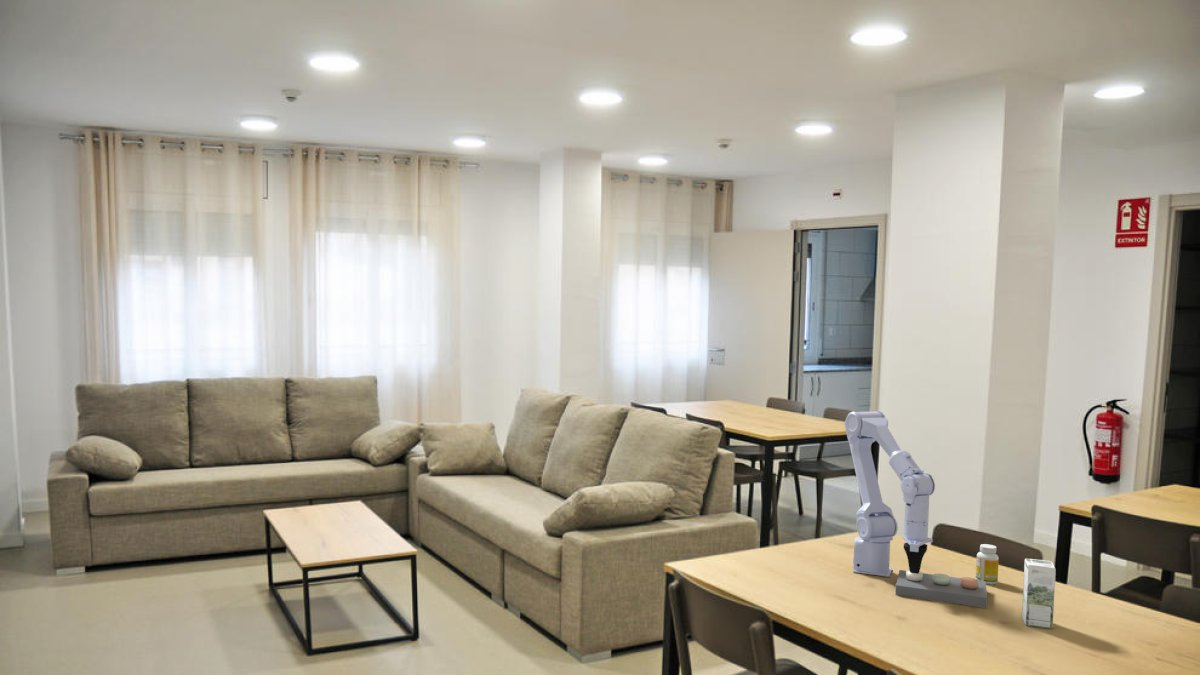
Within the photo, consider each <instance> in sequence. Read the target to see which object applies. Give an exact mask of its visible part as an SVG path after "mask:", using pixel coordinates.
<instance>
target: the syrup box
mask: <svg viewBox="0 0 1200 675" xmlns="http://www.w3.org/2000/svg"><path fill="white" fill-rule="evenodd" d="M1023 570H1024V571H1023V588H1022V590H1023V591H1022V593H1023V594H1022V610H1021V618H1022V620H1023V623H1024V624H1025V626H1027V627H1033V628H1034V627H1035V628H1043V629H1047V630H1048V629H1049V630H1053V626H1054V606H1055V588H1056V567H1055V565H1054V563H1053V561H1051V560H1044V559H1035V558H1034V559H1033V558H1024V566H1023Z"/></svg>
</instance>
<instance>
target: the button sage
mask: <svg viewBox="0 0 1200 675" xmlns="http://www.w3.org/2000/svg"><path fill="white" fill-rule="evenodd" d="M950 577H951V576H950V575H948V574H945V573H933V582H934V583H937V585H944V586H945V585H948V584H950Z"/></svg>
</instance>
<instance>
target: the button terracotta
mask: <svg viewBox="0 0 1200 675" xmlns="http://www.w3.org/2000/svg"><path fill="white" fill-rule="evenodd" d="M960 578H961V584H960V585H961V586H962V587H965V588H966V589H976V588H978V580H976V578H975V577H974V578H973V577H968V576H965V577H960Z"/></svg>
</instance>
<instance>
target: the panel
mask: <svg viewBox="0 0 1200 675" xmlns="http://www.w3.org/2000/svg"><path fill="white" fill-rule="evenodd" d="M906 571H907V570H902V569H899V571H898V575H897V579H896V583H895V596H899V595H900V597H907V598H913V599H920V600H921V599H922V600H927V601H934V602H940V601H942V602H941V603H947V602H949V603H948V604H954V603H957V604H956V605H961V604H963V605H962V606H968V607H973V608H976V607H977V608H982V609H987V608H988V592H987V584H986V582H985V581H978V588H976V589H966V588H965V587H962V586H961V585H960V584H961V578H962V577H953V576H950V584H948V585H945V586H944V585H937V583H934V582H933V574H934V573H933V574H932V573H925V572H922V573H923V579H922V581H918V582H915V581H910V580H909V579H907V578H906Z"/></svg>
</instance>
